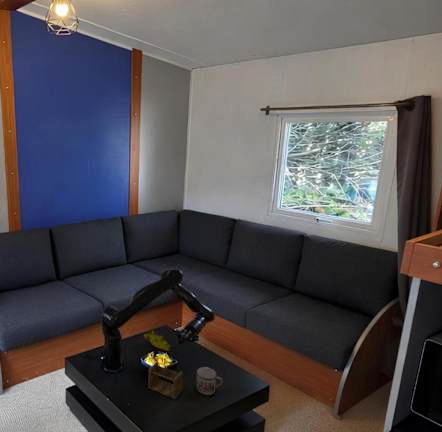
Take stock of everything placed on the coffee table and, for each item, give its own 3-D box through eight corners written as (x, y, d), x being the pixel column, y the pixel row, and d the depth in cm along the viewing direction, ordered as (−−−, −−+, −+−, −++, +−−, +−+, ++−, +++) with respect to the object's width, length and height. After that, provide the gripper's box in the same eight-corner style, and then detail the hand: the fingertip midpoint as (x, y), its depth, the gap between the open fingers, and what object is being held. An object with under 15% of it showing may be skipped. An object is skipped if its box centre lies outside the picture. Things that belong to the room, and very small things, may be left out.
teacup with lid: (196, 394, 188) (197, 372, 186) (194, 382, 197) (196, 361, 194) (223, 397, 186) (225, 375, 183) (220, 385, 195) (222, 363, 192)
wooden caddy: (148, 387, 193) (148, 369, 191) (155, 379, 200) (156, 361, 197) (175, 399, 185) (175, 380, 183) (182, 390, 191) (183, 371, 189)
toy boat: (150, 338, 238) (150, 323, 236) (173, 352, 223) (174, 336, 221) (142, 342, 234) (142, 326, 232) (165, 356, 220) (165, 339, 218)
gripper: (182, 318, 217) (168, 331, 204) (206, 325, 210) (193, 339, 196) (181, 331, 219) (167, 344, 206) (205, 338, 211) (192, 353, 198)
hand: (180, 342), depth 201 cm, fingers closed
